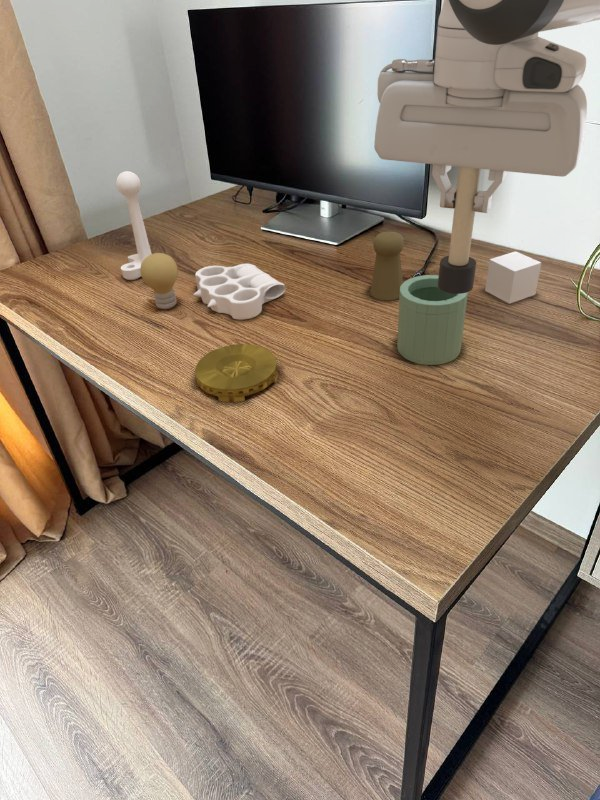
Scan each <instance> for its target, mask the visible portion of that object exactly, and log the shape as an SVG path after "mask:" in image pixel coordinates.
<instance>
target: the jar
mask: <svg viewBox="0 0 600 800" xmlns="http://www.w3.org/2000/svg"><path fill="white" fill-rule="evenodd" d="M438 278H439V274H426V275H425V274H424V275H418V276H414V277H410V278H408V279H407V280H405V281H403V284H402V285H401V286H400V297H399V298H398V299H399V300H398V301H399V302H398V320H397V321H398V323H397V324H398V325H397V339H396V340H397V342H396V343H397V344H396V349H397V351H398V353H399V354H400V356H401V357H403V358H404V359H405V360H407V361H410V362H412V363H415V364H418V365H423V366H424V365H425V366H437V365H438V366H439V365H443V364H447V363H450V362H452V361H454V360H455V359H456V358H458V357H459V355H460V353H461V350H462V344H463V337H464V327H465V320H466V311H467V303H468V295H469V292H467V293H462V294H452V293H447V292H444V291H442V290H441V289H439V287H438Z"/></svg>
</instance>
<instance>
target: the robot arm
mask: <svg viewBox="0 0 600 800" xmlns="http://www.w3.org/2000/svg"><path fill="white" fill-rule="evenodd" d="M437 21H438V22H437V32H436V43H435V57H434V59H414V60H407V59H406V58H398V59H397V58H396V59H393V60H392V61H391V63H389V64H386V65H385V66H384V67H383V68H382V69H381V71H380V73H379V74H378V78H377V92H376V93H377V100H378V103H379V107H378V112H377V117H376V118H377V119H376V124H375V132H374V133H375V134H374V151H375V152H376V155H378V157H379V158H380V160H385V161H396V162H407V163H417V164H425V165H426V164H428V165H432V169H431V175H432V178H433V180H434V182H435V184H436V187H437V188H438V190H439V192H440V199H439V207H440V208H443V209H451V210H452V209H453V210H454V207H455V198H456V189H457V187H454V186H452V183H451V181H450V178H449V176H448V172H450V171H451V170H452V167H458V168H459V167H467V168H477V169H481V170H488V178H487V180H488V181H491V182H492V183H491V185H490V186H489V187H488V188H487V190H478V194H476V195H475V198H474V203H475V205H474V206H473V211H474V212H475V213H482V214H488V213H489V212H490V210H491V207H492V201H493V194H495V192H496V190H497V189H498V188H499V187H500V185H501V184H502V183H503V182H504V181H505V179H506V178H507V176H508V172H510V173H511V172H512V173H520V174H529V175H530V174H531V175H541V176H551V177H561V178H562V177H563V178H564V177H567V176H568V175H569V174H570V173H572V172H573V171H574V170H576V168H577V166H578V165H579V163H580V160H581V156H582V153H583V146H584V142H585V141H584V140H585V135H586V127H587V126H586V125H587V114H588V102H587V95H586V93H585V91H584V89H583V87H581V86H580V85H579V83H580V82H581V81H582V79H583V77H584V74H585V71H586V67H587V58H586V56H585V55H584V53H582V52H580V51H577V50H574V49H572V48H569V47H566V46H564V45H561V44H558V43H556V42H553V41H550V40H548V39H545V38H544V37H541V36H539V33H541V32H546V31H553V30H557V29H563V28H569V27H573V26H578V25H582V24H587V23H591V22H595V21H600V0H443V4H442V6H441V10H440V13H439V16H438V20H437ZM390 70H391V71H390Z"/></svg>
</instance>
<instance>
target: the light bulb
mask: <svg viewBox="0 0 600 800" xmlns="http://www.w3.org/2000/svg"><path fill="white" fill-rule="evenodd" d="M140 271H141V276H142V277H141V279H142V280H143V282H144V284H146V286H148V287H149V288H150V289H151V290H153V296H154V301H155V305H156V307H157V308H158V309H161V310H169V309H172V308H173V307H175V306H176V305H177V303H178V301H177V297H176V293H175V292H176V291H175V288H174V285H175V283H176V281H177V279H178V276H179V269H178V265H177V263H176V261H175V260H174V258H173V257H172V256H170V255H169V254H166V253H163V252H154V253H152V254H151V255H149V256H147V257H146V258H145V259H144V260H143V261H142V263H141V269H140Z"/></svg>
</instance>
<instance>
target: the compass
mask: <svg viewBox="0 0 600 800" xmlns="http://www.w3.org/2000/svg"><path fill="white" fill-rule="evenodd" d="M194 369H195V370H194V373H195V377H196V382H197V387H198V388H200V389H201V390H202V391H204V392H205V393H206V394H209V395H211V396H215V397H218V401H219V402H222V403H223V402H225V403H236V402H245V401H246V399H245V397H246V396H250V395H251V396H252V395H254V394H256V393H259V392H261V391H263V390H265V389H266V388H268V387H269V386H270V385H271V384H272V383H274V384H276V383H277V381H278V377H279V373H278V362H277V357H276V356H275V354H274V353H273V352H272V351H271V350H269V349H268V348H266V347H263V346H261V345H256V344H252V343H251V344H250V343H237V344H228V345H225V346H220V347H218V348H215V349H213V350H211V351H209V352H207V353H206V354H205V355H203V356H202V357H201V358H200V359H199V360H198V362H197V363H196V366H195V368H194Z"/></svg>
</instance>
